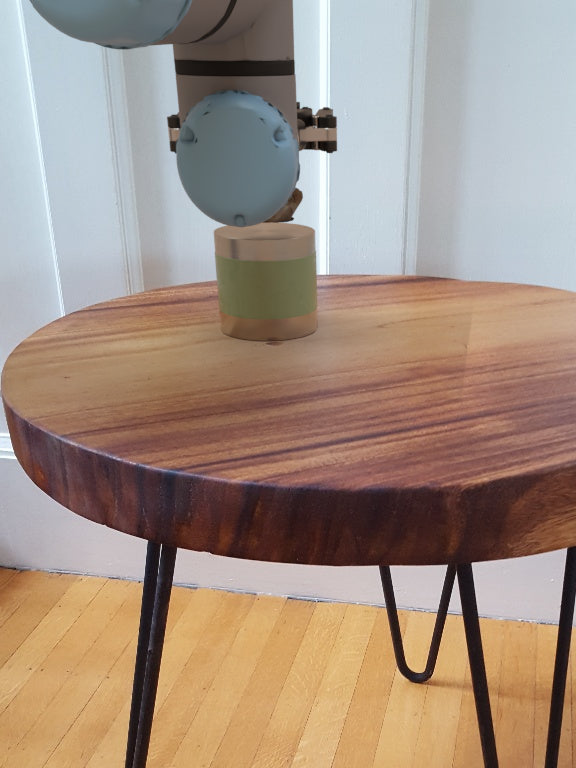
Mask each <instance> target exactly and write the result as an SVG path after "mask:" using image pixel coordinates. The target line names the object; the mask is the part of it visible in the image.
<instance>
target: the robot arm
mask: <svg viewBox="0 0 576 768" xmlns="http://www.w3.org/2000/svg"><path fill="white" fill-rule="evenodd" d="M29 2H30V3H31V5H32V7H33V8H34V10H35V11H36V12H37V13H38V14H39V16H40V17H41V18H42V19H43V20H45V21H46V22H47V23H48V24H49V25H50V26H52V27H53V28H55V29H56V30H57V31H59V32H60V33H62V34H64V35H66V36H68V37H70V38H72V39H74V40H78V41H80V42H85V43H92V44H95V45H98V46H100V47H104V48H108V49H112V50H132V49H133V50H134V49H139V48H146V47H149V46H163V45H172V52H173V63H174V71H175V72H174V73H175V82H176V83H175V84H176V93H177V104H178V105H177V106H178V112H177V113H176V114H170V115H169V116H166V121H167V131H168V140H169V141H168V142H169V152H171V153H174V154H176V156H175V157H176V160H175V161H176V169H177V174H178V177H179V180H180V183H181V185H182V188H183V190H184V192H185V193H186V195H187V197H188V198H189V200H190V201H191V202H192V203H193V205H194V206H195V207H196V208H197V209H198V210H199V211H200V212H201V213H202V214H204V215H205V216H206V217H208V218H209V219H211V220H213V221H215V222H217V223H219V224H222V225H223V226H227V225H229V226H234V227H240V228H242V227H247V226H253V225H257V224H260V223H262V222H264V221H266V220H268V219H269V218H271V217H272V216H274V215H275V214H276V213H277V212H279V211H280V210H281V209H282V208H283V207H284V206H285V205H286V204H287V203H288V199H289V198H291V197H292V193H293V192H294V190H295V189H296V188H297V187H296V186H297V183H298V182H299V180H300V174H301V164H300V152H301V151H303V150H304V151H305V150H307V151H309V150H311V151H321V152H326V154H333V153H334V152H338V119H337V118H338V117H337V116H335V115H334V109H333V108H331V107H329V106H324V107H322V108H319V109H318V110H317V111H316V113H315V114H314V113H313V108H312V107H309V106H302V107H301V102H300V101H297V79H296V76H297V75H296V72H295V71H296V65H295V64H296V61H295V36H294V35H295V34H294V33H295V32H294V31H295V30H294V29H295V28H294V0H29Z"/></svg>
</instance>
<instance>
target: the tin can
mask: <svg viewBox="0 0 576 768" xmlns="http://www.w3.org/2000/svg"><path fill="white" fill-rule="evenodd" d="M213 242H214V261H215V262H214V263H215V275H216V287H217V298H218V299H217V301H218V310H219V318H220V330H221V332H222V333H223V334H225V335H227V336H229V337H232V338H235V339H240V340H247V341H259V342H260V341H261V342H269V341H270V342H271V341H273V342H274V341H287V340H295V339H299V338H304V337H306V336H309V335H311V334H313V333H315V332H316V331H317V330H318V282H317V281H318V276H317V275H318V273H317V271H318V270H317V250H316V230H315V229H314V228H313V227H311V226H307V225H304V224H299V223H292V222H291V223H289V222H279V223H272V222H270V223H260V224H257V225H253V226H247V227H242V228H240V227H234V226H229V225H223V226H220V227H217V228H215V229H214V230H213Z"/></svg>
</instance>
